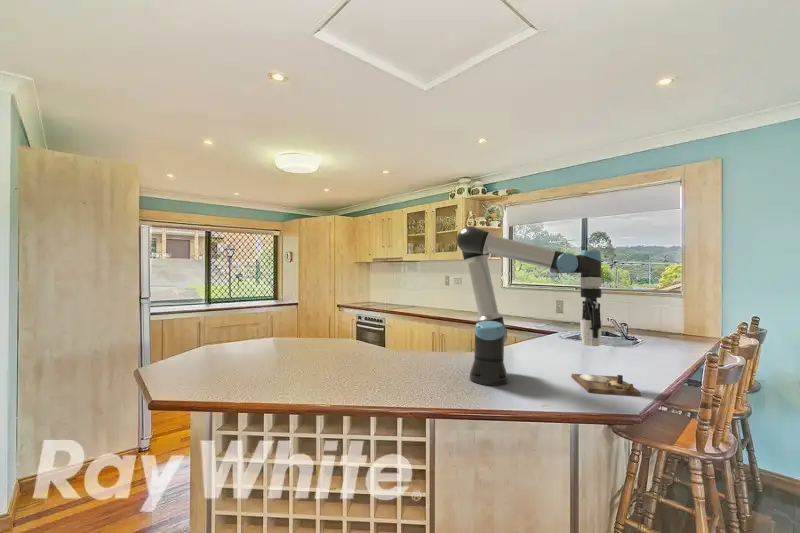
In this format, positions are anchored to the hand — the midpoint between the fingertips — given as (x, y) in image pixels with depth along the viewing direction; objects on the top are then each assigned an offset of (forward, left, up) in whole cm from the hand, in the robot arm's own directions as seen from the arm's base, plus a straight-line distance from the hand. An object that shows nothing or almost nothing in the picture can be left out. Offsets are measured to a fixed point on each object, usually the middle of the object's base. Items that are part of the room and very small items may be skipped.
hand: (591, 344), depth 153 cm
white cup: (0, 0, 0) cm, 0 cm away
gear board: (+4, -3, -16) cm, 17 cm away
